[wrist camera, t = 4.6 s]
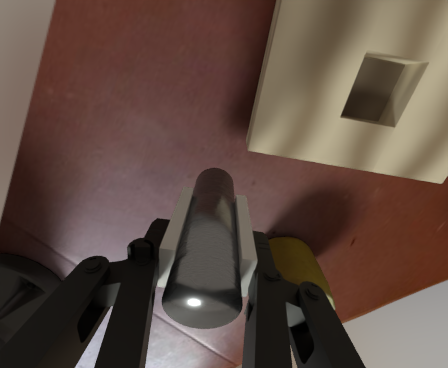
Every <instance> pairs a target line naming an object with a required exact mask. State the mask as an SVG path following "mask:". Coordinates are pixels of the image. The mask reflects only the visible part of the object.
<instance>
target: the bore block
mask: <svg viewBox="0 0 448 368" xmlns="http://www.w3.org/2000/svg"><path fill="white" fill-rule="evenodd" d="M246 144H247V148H248V151H253V152H259V153H265V154H271V155H277V156H283V157H288V158H294V159H300V160H306V161H312V162H317V163H323V164H329V165H335V166H341V167H347V168H352V169H358V170H364V171H370V172H376V173H382V174H387V175H393V176H399V177H405V178H411V179H416V180H422V181H428V182H434V183H440V184H442V183H443V181H444V180H445V179H446V177H447V176H448V0H276V4H275V9H274V13H273V18H272V23H271V27H270V32H269V36H268V41H267V46H266V50H265V55H264V60H263V64H262V69H261V73H260V78H259V83H258V87H257V92H256V96H255V101H254V106H253V110H252V115H251V120H250V124H249V129H248V133H247V138H246Z"/></svg>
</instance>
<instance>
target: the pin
mask: <svg viewBox="0 0 448 368" xmlns="http://www.w3.org/2000/svg"><path fill="white" fill-rule="evenodd" d="M162 306H163V309H164V311H165V312H166V314H167V315H168V316H169V317H170V318H172V319H173V320H174V321H176V322H178V323H180V324H182V325H185V326H188V327H192V328H198V329H210V328H217V327H221V326H224V325H226V324H228V323H230V322H232V321H233V320H234V319H236V318H237V317H238V315H239V314H240V312H241V310H242V306H243V304H242V290H241V277H240V270H239V257H238V243H237V230H236V216H235V199H234V186H233V180H232V178H231V176H230V175H229V174H228V173H227V172H226V171H224V170H222V169H219V168H210V169H207V170H204V171H203V172H202V173H201V174H200V175H199V176H198V178H197V180H196V184H195V187H194V191H193V197H192V201H191V204H190V208H189V211H188V215H187V218H186V222H185V225H184V229H183V232H182V236H181V240H180V243H179V247H178V250H177V254H176V257H175V261H174V263H173V264H172V266H171V269H170V273H169V276H168V279H167V283H166V286H165V290H164V293H163V297H162Z"/></svg>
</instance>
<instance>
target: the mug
mask: <svg viewBox="0 0 448 368" xmlns="http://www.w3.org/2000/svg"><path fill="white" fill-rule="evenodd" d="M268 241H269V245H270V250H271V252H272V256H273V260H274V263H275V267H276V269H277V270H278V271H279V272H280V273H281V274H282V276H283V278H284V279H285V280H287V281H289V282H292V283H294V284H297V285H300V283H302V282H304V281H309V282H313V283H315V284H317V285H318V286H319V287H320V288H322V290H323V291H324V292H325V294H326V296H327V297H328V299H329V301H330V303H331V305H332V307H333V308H334V310H335V302H334V299H333V296H332V293H331V291H330V288H329V285H328V282H327V280H326V278H325V276H324V274H323V272H322V270H321V268H320V266H319V264H318V262H317V260H316V258H315V257H314V254H313V252H312V251H311V249H310V248H309V247H308V245H307V244H305V243H304V242H303V241H301V240H300V239H297V238H293V237H289V236H286V237H275V238H272V239H270V240H268Z"/></svg>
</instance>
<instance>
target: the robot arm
mask: <svg viewBox="0 0 448 368" xmlns="http://www.w3.org/2000/svg"><path fill="white" fill-rule="evenodd" d="M193 190H194V188H190V187H183V190H182V192H181V195H180V197H179V200H178V202H177V205H176V207H175V210H174V212H173V215H172V217H171V220H167V219H159V218H157V219H156V220H155V221H153V222H152V223H151V225H150V227H149V229H148V231H147V233H146V235H145V237H144V238H138V239H136V240H133V241H132V242H131V243H130V244H129V245H128V247H127V251H128V259H126V260H122V261H117V262H109V260H108V259H107V258H106V257H103V256H93V257H89V258H87V259H85V260H83V261H82V262H80V263H79V264H78V265H77V266H76V267H75V268H74V270H73V271H72V272H71V273H70V274H69V275H68V276H67V277H66V278H65V279H64V281H63V282H61V280H60V279H59V278H58V277H57V276H56V275H55V274H53V273H52V272H51V271H50V270H48V269H47V268H45V267H43V266H42V265H40V264H38V263H36V262H34V261H31V260H29V259H26V258H23V257H20V256H16V255H10V254H0V368H75V366H76V365H77V363H78V361H79V360H80V358H81V356H82V354H83V353H84V351H85V349H86V348H87V346H88V344H89V343H90V341H91V339H92V338H93V336H94V334H95V333H96V331H97V329H98V327H99V326H100V324H101V322H102V321H103V319H104V317H105V316H106V314H107V312H108V311H109V309H110V307H111V306H113V309H112V312H111V315H110V319H109V322H108V325H107V328H106V331H105V335H104V338H103V341H102V344H101V347H100V351H99V354H98V357H97V360H96V363H95V367H94V368H145V364H146V356H147V349H148V342H149V335H150V328H151V321H152V314H153V306H154V299H155V288H156V285H157V282H158V287H165V286H166V283H167V279H168V276H169V273H170V269H171V266H172V264H173V263H174V261H175V257H176V254H177V250H178V247H179V243H180V240H181V236H182V232H183V229H184V225H185V222H186V218H187V215H188V211H189V208H190V204H191V201H192V197H193ZM235 216H236V230H237V243H238V257H239V270H240V277H241V290H242V297H246V295H247V292H248V294H249V300H248V303H247V306H246V309H245V312H244V314H245V315H246V323H245V336H244V348H243V361H242V368H292V360H291V349H290V345H291V348H292V351H293V355H294V358H295V361H296V364H297V368H366V367H365V366H364V364H363V362H362V360H361V358H360V356H359V355H358V353H357V351H356V349H355V347H354V345H353V343H352V342H351V340H350V338H349V336H348V334H347V332H346V331H345V329H344V327H343V325H342V323H341V321H340V320H339V318H338V316H337V314H336V312H335V310H334V308H333V307H332V305H331V303H330V301H329V299H328V297H327V296H326V294H325V292H324V291H323V290H322V288H320V287H319V286H318V285H317V284H315V283H313V282H309V281H304V282H302V283H300V285H297V284H294V283H292V282H289V281H287V280H285V279H284V278H283V276H282V274H281V273H280V272H279V271H278V270H277V269H276V267H275V263H274V260H273V256H272V252H271V250H270V245H269V241H268V238H267V237H266V235H265V234H264V233H263V232H257V231H252V227H251V221H250V216H249V210H248V204H247V199H246V196H243V195H237V194H236V199H235Z"/></svg>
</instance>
